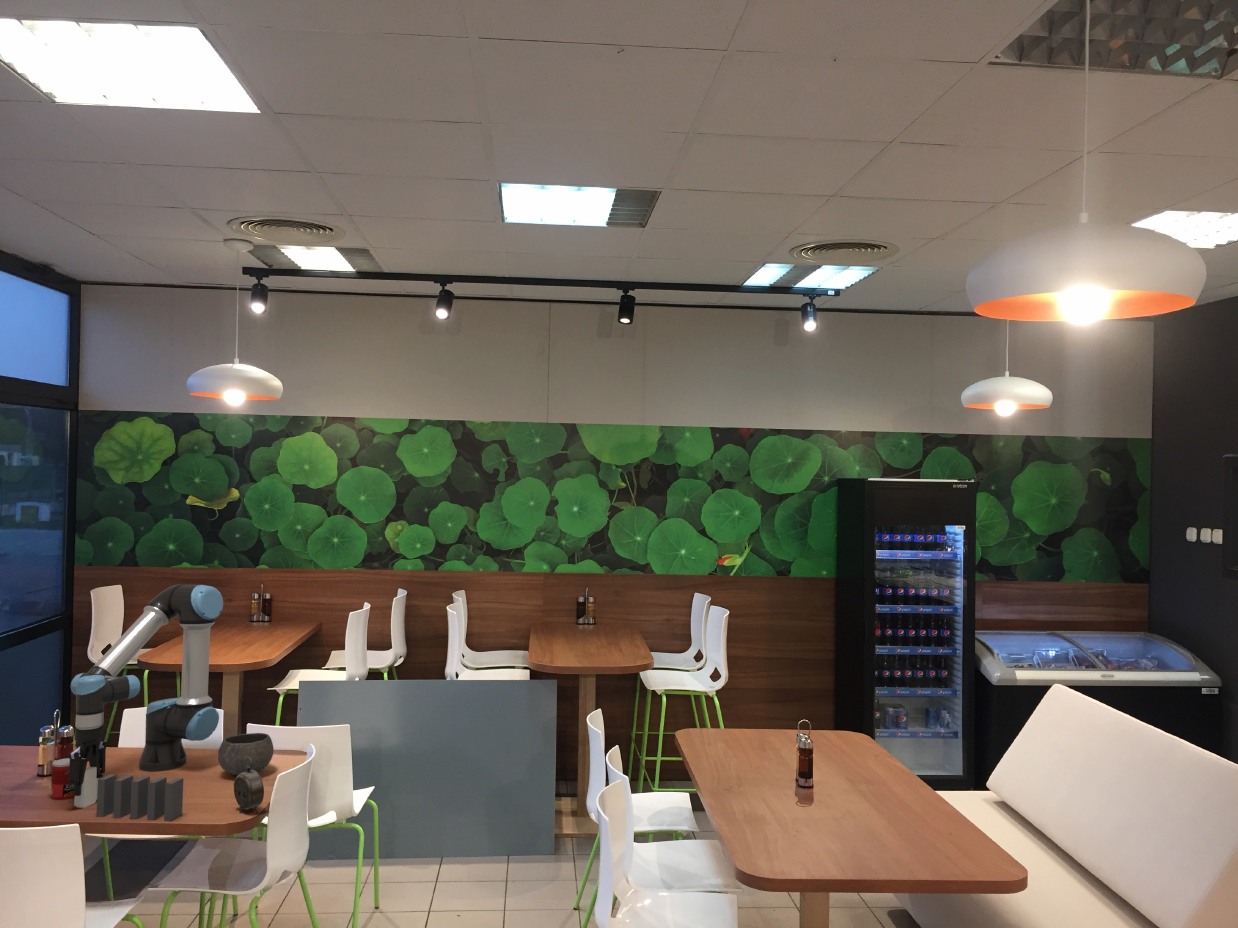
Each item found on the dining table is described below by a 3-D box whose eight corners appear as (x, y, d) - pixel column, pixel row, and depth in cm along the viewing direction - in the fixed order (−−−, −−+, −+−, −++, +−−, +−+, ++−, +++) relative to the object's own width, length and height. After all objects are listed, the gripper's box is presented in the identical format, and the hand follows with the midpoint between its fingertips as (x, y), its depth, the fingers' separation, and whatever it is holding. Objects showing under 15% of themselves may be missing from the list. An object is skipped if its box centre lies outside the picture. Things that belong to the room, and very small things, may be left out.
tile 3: (113, 817, 259) (114, 780, 260) (125, 811, 264) (126, 774, 265) (120, 818, 259) (121, 780, 259) (132, 812, 264) (133, 775, 264)
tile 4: (130, 818, 258) (131, 781, 259) (141, 812, 264) (143, 775, 264) (136, 819, 258) (138, 781, 259) (148, 813, 263) (149, 776, 264)
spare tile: (76, 807, 267) (78, 771, 268) (89, 801, 273) (90, 766, 273) (83, 807, 267) (84, 771, 268) (95, 802, 272) (96, 766, 273)
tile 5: (147, 819, 258) (148, 782, 258) (158, 813, 263) (159, 776, 263) (153, 820, 257) (155, 782, 258) (165, 814, 262) (166, 777, 263)
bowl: (226, 785, 290) (228, 747, 290) (210, 772, 303) (211, 736, 304) (280, 775, 301) (281, 738, 302) (262, 763, 315) (263, 727, 316)
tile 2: (96, 816, 260) (97, 779, 260) (108, 810, 265) (110, 773, 266) (103, 817, 260) (104, 779, 260) (115, 811, 265) (116, 774, 265)
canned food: (65, 800, 273) (67, 765, 274) (44, 798, 275) (45, 763, 275) (85, 793, 281) (86, 758, 281) (64, 791, 282) (65, 756, 283)
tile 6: (164, 820, 257) (165, 783, 257) (175, 814, 262) (176, 777, 263) (171, 821, 257) (172, 783, 257) (182, 815, 262) (183, 778, 262)
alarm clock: (264, 813, 264) (266, 758, 265) (247, 817, 260) (249, 762, 261) (246, 804, 271) (248, 752, 272) (229, 809, 267) (231, 755, 268)
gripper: (99, 718, 281) (96, 792, 279) (55, 733, 263) (52, 811, 261) (120, 719, 280) (117, 793, 278) (78, 734, 262) (75, 813, 260)
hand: (86, 802), depth 270 cm, fingers closed on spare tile, 5 cm apart
